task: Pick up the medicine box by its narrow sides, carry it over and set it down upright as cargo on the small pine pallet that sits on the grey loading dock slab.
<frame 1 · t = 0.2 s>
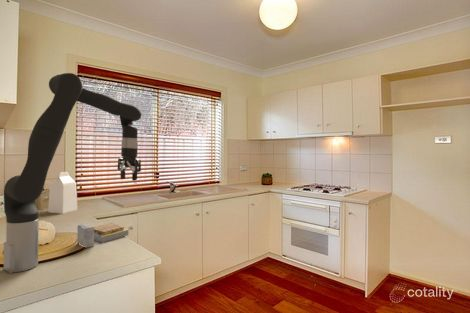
hand: (128, 179, 134), 28 cm above the worktop, fingers open, 8 cm apart
pallet: (107, 230, 134), resting on dock
dock: (107, 235, 134), on the worktop
medicine box: (85, 245, 121), on the worktop
milk: (63, 211, 180), on the worktop
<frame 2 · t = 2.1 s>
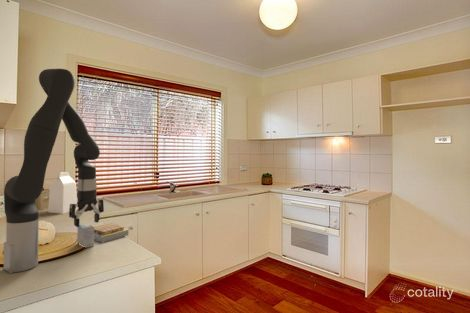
hand: (87, 224, 121), 9 cm above the worktop, fingers open, 8 cm apart
nothing on the worktop moved.
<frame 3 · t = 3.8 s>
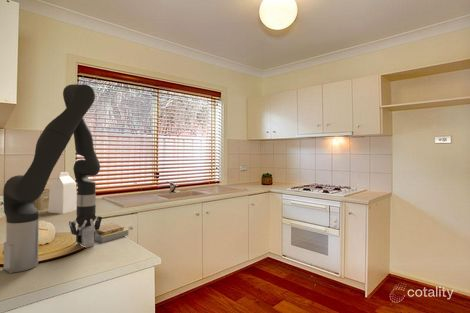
hand: (85, 241, 121), 2 cm above the worktop, fingers closed on medicine box, 5 cm apart
medicine box: (85, 245, 121), on the worktop, touching gripper
everything else where it was.
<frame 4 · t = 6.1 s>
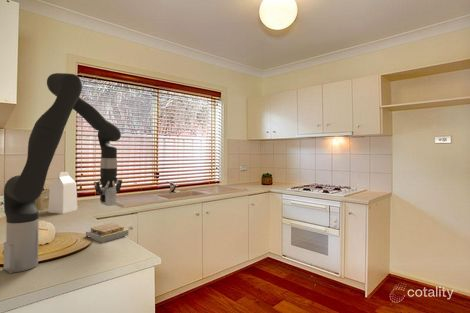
hand: (108, 201, 133), 17 cm above the worktop, fingers closed on medicine box, 5 cm apart
medicine box: (108, 204, 133), point 16 cm above the worktop, touching gripper
everything else where it was.
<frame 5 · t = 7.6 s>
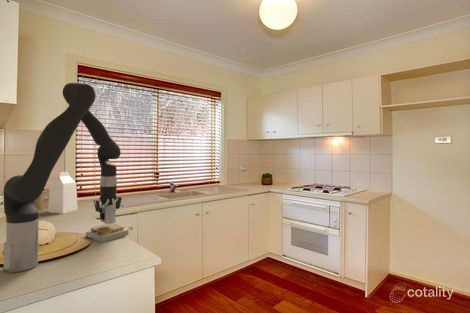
hand: (107, 218, 134), 9 cm above the worktop, fingers closed on medicine box, 5 cm apart
medicine box: (107, 222, 134), point 7 cm above the worktop, touching gripper
everything else where it was.
when the fingers open (7 cm above the worktop, at t = 8.8 s): medicine box drops 1 cm, resting on pallet.
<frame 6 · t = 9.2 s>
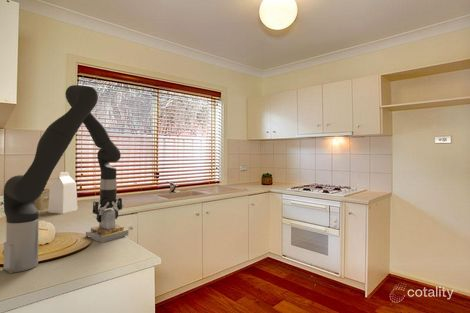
hand: (107, 220, 134), 8 cm above the worktop, fingers open, 8 cm apart
medicine box: (107, 227, 134), point 4 cm above the worktop, touching pallet
everything else where it was.
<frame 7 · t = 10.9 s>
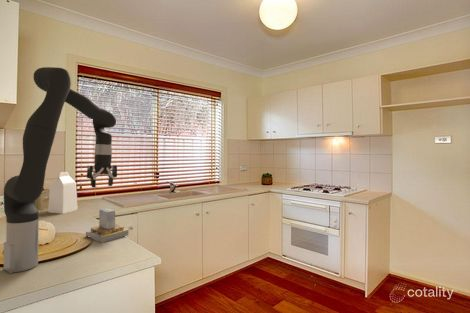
hand: (102, 186, 132), 25 cm above the worktop, fingers open, 8 cm apart
nothing on the worktop moved.
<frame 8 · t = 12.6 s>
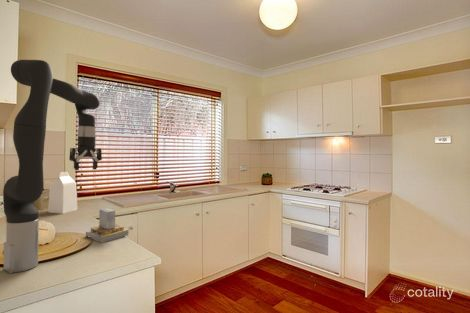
hand: (86, 169, 129), 33 cm above the worktop, fingers open, 8 cm apart
nothing on the worktop moved.
at the end: medicine box inside the target area on the pallet (0.3 cm from its centre), point 1.6 cm above the pallet's base; medicine box tilted 0°; the gripper is holding nothing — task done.
